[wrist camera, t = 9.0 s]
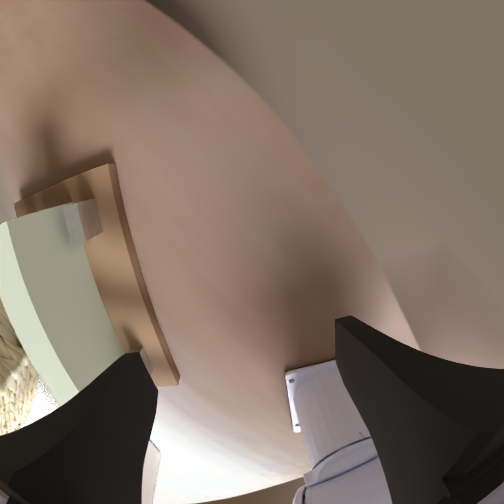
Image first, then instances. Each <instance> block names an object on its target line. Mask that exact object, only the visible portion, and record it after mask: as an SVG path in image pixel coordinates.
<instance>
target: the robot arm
mask: <svg viewBox="0 0 504 504" xmlns="http://www.w3.org/2000/svg"><path fill="white" fill-rule="evenodd" d="M335 342H336V360H332V361H328V362H325V363H321V364H317V365H312V366H308V367H304V368H299V369H295V370H290V371H288V372H286V374H285V379H286V385H287V392H288V398H289V405H290V412H291V418H292V425H293V431H294V432H301V434H302V438H303V442H304V446H305V450H306V454H307V458H308V462H309V466H310V470H311V471H310V472H308V473H305V474H304V480H305V484H306V485H304V486H302V487H300V488H299V489H298V490H297V492H296V495H295V497H294V500H293V504H504V369H493V368H483V367H476V366H470V365H465V364H461V363H456V362H452V361H448V360H445V359H441V358H438V357H435V356H432V355H429V354H427V353H424V352H421V351H419V350H416V349H414V348H412V347H410V346H407V345H405V344H403V343H401V342H399V341H397V340H395V339H393V338H391V337H389V336H387V335H385V334H383V333H381V332H380V331H378V330H376V329H374V328H372V327H371V326H369V325H367V324H365V323H364V322H362V321H360V320H358V319H357V318H355V317H353V316H347V317H343V318H339V319H335ZM290 379H293V380H290ZM157 398H158V389H157V387H156V386H155V384H154V382H153V380H152V378H151V376H150V374H149V372H148V370H147V368H146V366H145V364H144V362H143V360H142V358H141V355H140V353H139V352H134V353H125V354H124V355H122V356H121V357H119V358H118V359H117V360H116V361H115V362H113V363H112V364H111V365H110V366H109V367H108V368H107V369H105V370H104V371H103V372H102V373H101V374H100V375H99V376H98V377H96V378H95V379H94V380H93V381H92V382H91V383H90V384H89V385H87V386H86V387H85V388H84V389H82V390H81V391H80V392H79V393H78V394H76V395H75V396H74V397H73V398H72V399H70V400H69V401H68V402H66V403H65V404H63V405H62V406H61V407H59V408H58V409H56V410H55V411H53V412H52V413H50V414H48V415H47V416H45V417H43V418H41V419H39V420H37V421H35V422H34V423H32V424H30V425H28V426H25V427H23V428H21V429H18V430H16V431H13V432H10V433H7V434H4V435H1V436H0V489H1V490H2V491H3V492H4V493H6V494H7V495H8V496H9V499H8V501H7V500H5V499H4V498H3V497H1V496H0V504H142V478H143V467H144V461H145V456H146V451H147V447H148V443H149V439H150V435H151V431H152V427H153V423H154V419H155V414H156V408H157Z"/></svg>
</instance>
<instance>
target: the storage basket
mask: <svg viewBox="0 0 504 504" xmlns="http://www.w3.org/2000/svg"><path fill="white" fill-rule="evenodd" d="M38 375H39V374H38V373H37V371H36V369H35V368H34V366H33V364H32V363H31V361H30V359H29V357H28V356H27V354H26V352H25V350H24V348H23V346H22V344H21V342H20V341H19V339H18V337H17V335H16V332H15V330H14V328H13V326H12V324H11V322H10V320H9V317H8V315H7V313H6V310H5V308H4V306H3V303H2V301H1V298H0V436H1V435H4V434H7V433H10V432H13V431H16V430H18V429H20V428H21V426H22V425H23V424H24V422H25V420H26V418H27V416H28V414H29V413H30V410H31V406H32V404H33V400H34V398H35V392H36V389H37V380H38Z"/></svg>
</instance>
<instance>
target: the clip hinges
mask: <svg viewBox="0 0 504 504" xmlns="http://www.w3.org/2000/svg"><path fill="white" fill-rule="evenodd" d="M63 213H64V217H65V221H66V225H67V229H68V233H69V237H70V241H71V244H72V245H74V244H78V243H82V242H85V241H88V240H89V239H91V238H93V237H95V236H97V235H99V234H101V233H103V229H102V225H101V221H100V217H99V213H98V209H97V204H96V200H95V198H94V199H90V200H86V201H82V202H78V203H75V204H72V205H69V206H66V207H64V208H63ZM134 352H139V353H140V355H141V358H142V360H143V362H144V364H145V366H146V368H147V370H148V372H149V374H150V376H151V375H152V373H153V370H154V369H153V367H152V365H151V363H150V360H149V358H148V356H147V354H146V352H145V349H144V347H143V346H141V347H130V349H129V351H128V353H134Z"/></svg>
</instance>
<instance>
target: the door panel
mask: <svg viewBox="0 0 504 504" xmlns="http://www.w3.org/2000/svg"><path fill="white" fill-rule="evenodd" d="M72 204H73V202H71V203H67V204H64V205H60V206H56V207H52V208H49V209H45V210H41V211H38V212H34V213H31V214H28V215H24V216H21V217H18V218H15V219H12V220H9V221H6V222H4V223H2V224H0V298H1V301H2V303H3V306H4V308H5V310H6V313H7V315H8V317H9V320H10V322H11V324H12V326H13V328H14V330H15V332H16V335H17V337H18V339H19V341H20V342H21V344H22V346H23V348H24V350H25V352H26V354H27V356H28V357H29V359H30V361H31V363H32V364H33V366H34V368H35V369H36V371H37V373H38V374H39V376H40V378H41V379H42V381H43V382H44V384H45V385H46V387H47V388H48V390H49V391H50V393H51V394H52V396H53V397H54V399H55V400H56V402H57V403H58V404H59V406H60V407H61V406H62V405H63V404H65V403H66V402H68V401H69V400H70V399H72V398H73V397H74V396H75V395H76V394H78V393H79V392H80V391H81V390H82V389H84V388H85V387H86V386H87V385H89V384H90V383H91V382H92V381H93V380H94V379H95V378H96V377H98V376H99V375H100V374H101V373H102V372H103V371H104V370H105V369H107V368H108V367H109V366H110V365H111V364H112V363H113V362H115V361H116V360H117V359H118V358H119V357H121V356H122V355H124V354H125V353H124V351H123V349H122V347H121V345H120V343H119V341H118V338H117V336H116V334H115V332H114V329H113V327H112V325H111V322H110V320H109V317H108V315H107V313H106V310H105V307H104V305H103V302H102V300H101V297H100V294H99V292H98V289H97V286H96V283H95V280H94V277H93V274H92V271H91V268H90V265H89V262H88V259H87V256H86V252H85V249H84V245H83V242H82V243H78V244H74V245H72V244H71V241H70V237H69V233H68V229H67V225H66V221H65V217H64V213H63V208H64V207H66V206H69V205H72Z"/></svg>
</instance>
